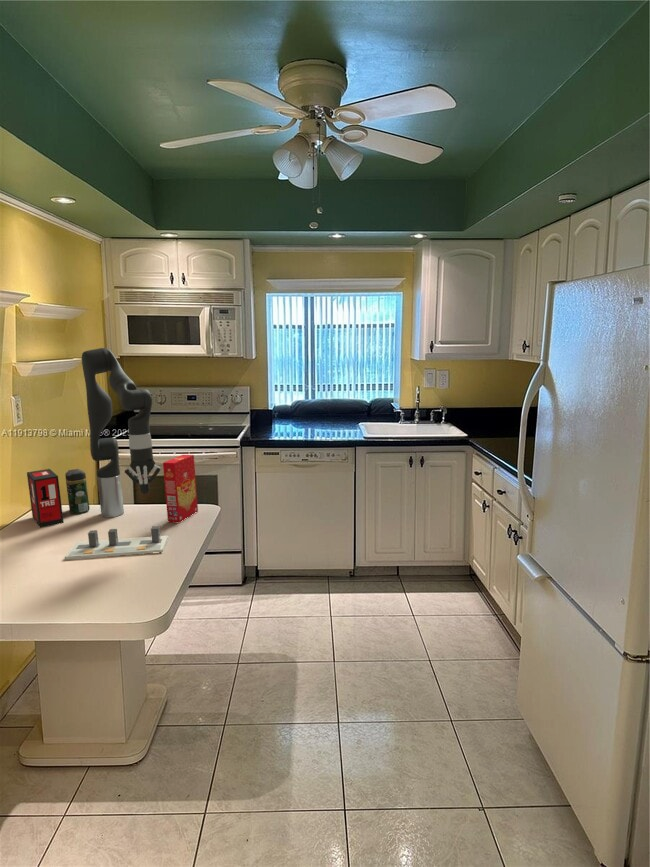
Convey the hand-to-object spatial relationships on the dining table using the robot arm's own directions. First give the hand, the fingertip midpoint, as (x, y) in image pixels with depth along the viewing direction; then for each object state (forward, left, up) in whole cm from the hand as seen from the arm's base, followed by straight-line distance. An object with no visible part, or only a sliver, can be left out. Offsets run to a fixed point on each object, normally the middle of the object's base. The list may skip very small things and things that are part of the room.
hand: (145, 493), depth 203 cm
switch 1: (-1, -20, -18) cm, 27 cm away
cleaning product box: (-40, -49, -20) cm, 66 cm away
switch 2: (-1, +2, -18) cm, 18 cm away
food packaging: (-32, +8, -20) cm, 38 cm away
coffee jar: (-50, -39, -20) cm, 66 cm away
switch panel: (0, -11, -20) cm, 23 cm away
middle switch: (-1, -13, -18) cm, 22 cm away
